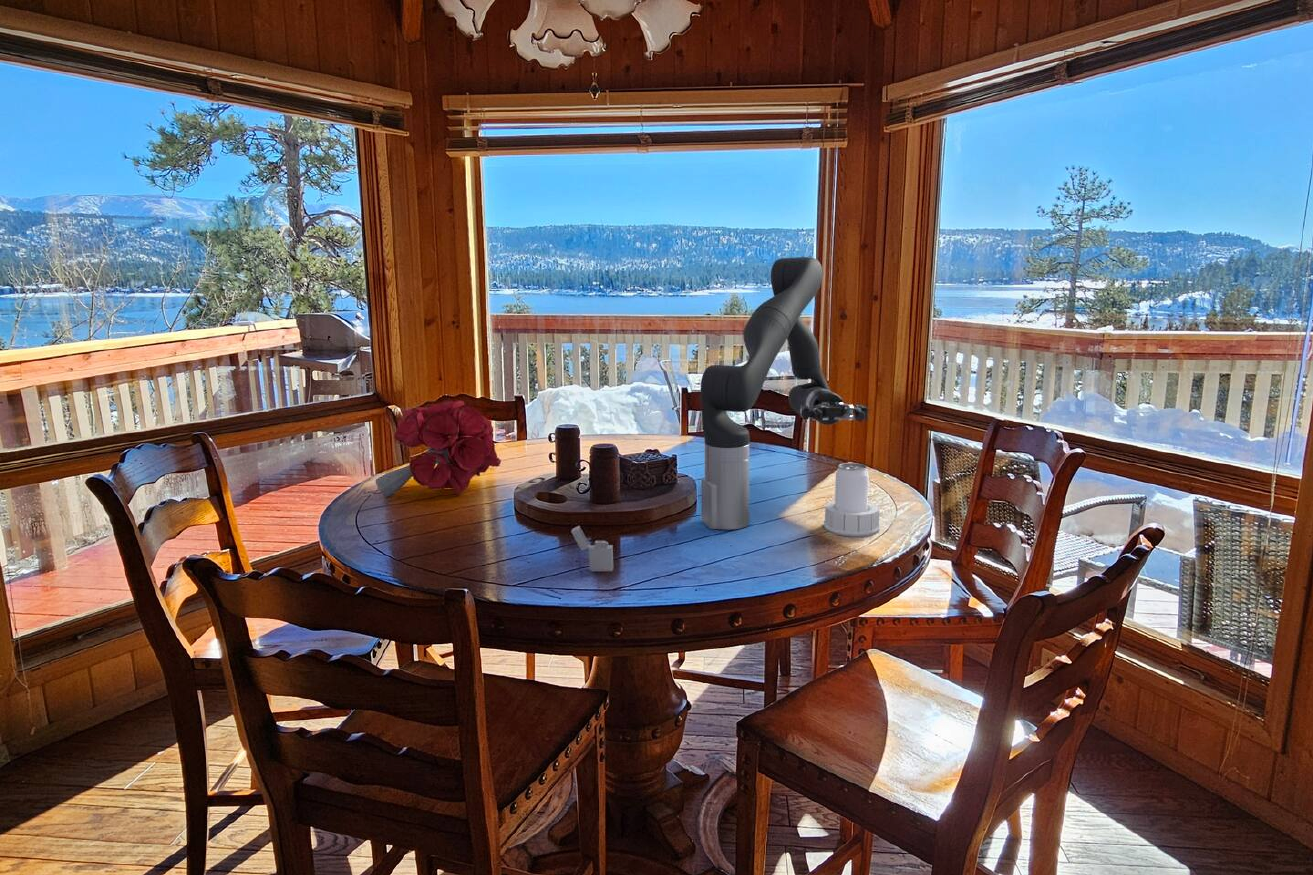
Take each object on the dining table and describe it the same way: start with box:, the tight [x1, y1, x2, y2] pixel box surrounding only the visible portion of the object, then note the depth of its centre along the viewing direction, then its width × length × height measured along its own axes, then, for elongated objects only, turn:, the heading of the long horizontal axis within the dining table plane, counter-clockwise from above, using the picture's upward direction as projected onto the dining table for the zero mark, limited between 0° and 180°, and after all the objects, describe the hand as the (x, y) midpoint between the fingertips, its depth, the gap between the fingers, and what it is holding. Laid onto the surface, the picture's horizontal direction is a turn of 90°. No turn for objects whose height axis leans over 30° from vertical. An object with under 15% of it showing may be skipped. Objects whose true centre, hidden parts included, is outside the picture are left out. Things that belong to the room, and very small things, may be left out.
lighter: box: [570, 525, 614, 572], centre depth 142 cm, size 7×2×8 cm, turn 88°
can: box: [834, 462, 870, 513], centre depth 162 cm, size 6×6×12 cm
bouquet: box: [375, 400, 502, 498], centre depth 192 cm, size 22×24×30 cm
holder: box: [823, 500, 880, 538], centre depth 163 cm, size 11×11×4 cm
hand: (841, 417), depth 170 cm, fingers open, 8 cm apart
